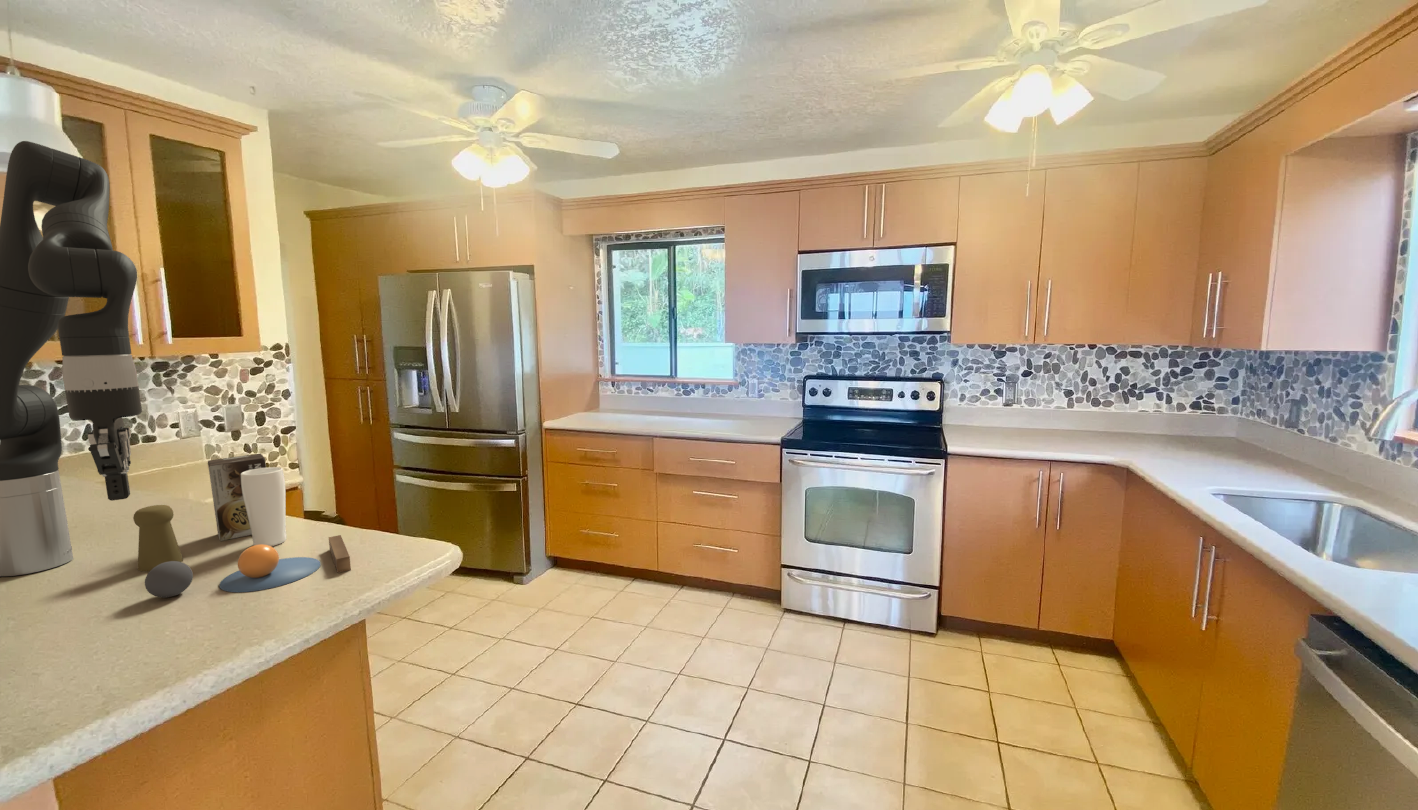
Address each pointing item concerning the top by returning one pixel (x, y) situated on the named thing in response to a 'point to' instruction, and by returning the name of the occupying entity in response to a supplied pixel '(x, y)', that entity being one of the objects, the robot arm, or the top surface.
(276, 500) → the drinking glass
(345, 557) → the brown bar
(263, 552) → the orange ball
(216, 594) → the top surface
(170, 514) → the cork
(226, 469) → the coffee box
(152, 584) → the gray ball
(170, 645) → the top surface
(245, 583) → the blue flat round disc
